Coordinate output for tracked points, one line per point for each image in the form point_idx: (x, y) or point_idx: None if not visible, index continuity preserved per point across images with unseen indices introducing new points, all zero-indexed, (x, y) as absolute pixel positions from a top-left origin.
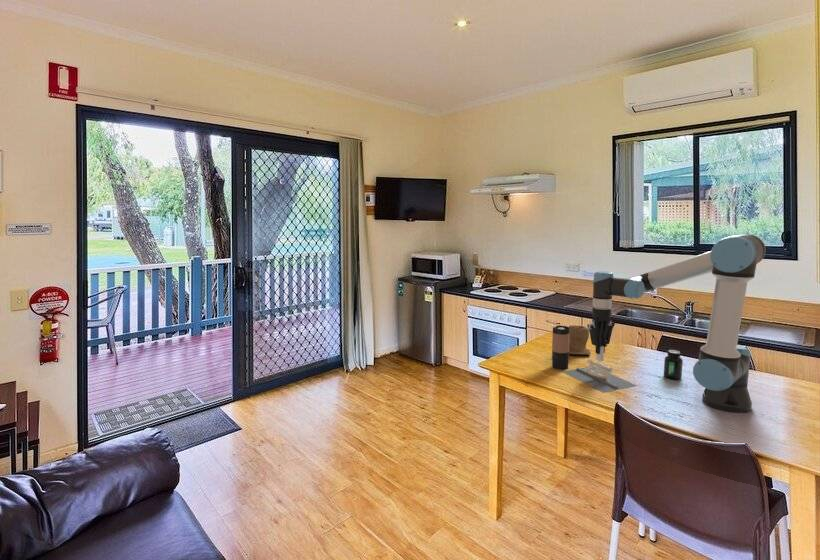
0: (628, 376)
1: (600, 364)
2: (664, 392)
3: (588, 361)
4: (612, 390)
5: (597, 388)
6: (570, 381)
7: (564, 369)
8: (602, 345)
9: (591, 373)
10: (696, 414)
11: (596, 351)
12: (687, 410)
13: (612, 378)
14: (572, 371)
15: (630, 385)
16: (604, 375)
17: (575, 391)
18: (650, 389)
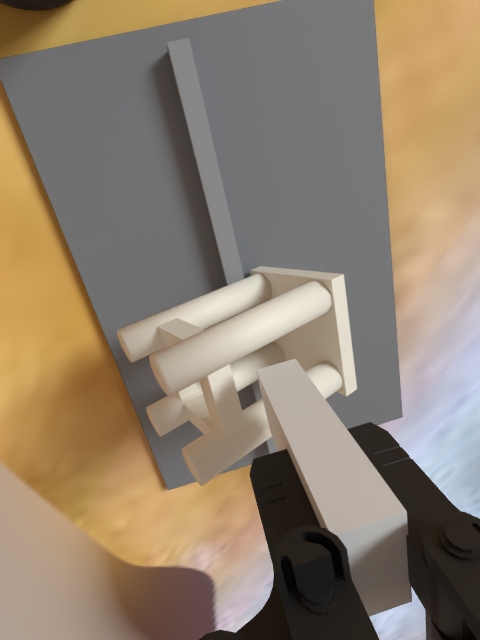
0: (468, 264)
1: (241, 457)
2: (460, 476)
3: (155, 371)
4: (234, 467)
5: (162, 439)
6: (21, 297)
7: (38, 6)
8: (418, 591)
9: (149, 415)
10: (405, 626)
11: (261, 496)
12: (403, 606)
13: None
14: (108, 88)
15: (371, 410)
16: (282, 341)
17: (5, 457)
18: (431, 445)
